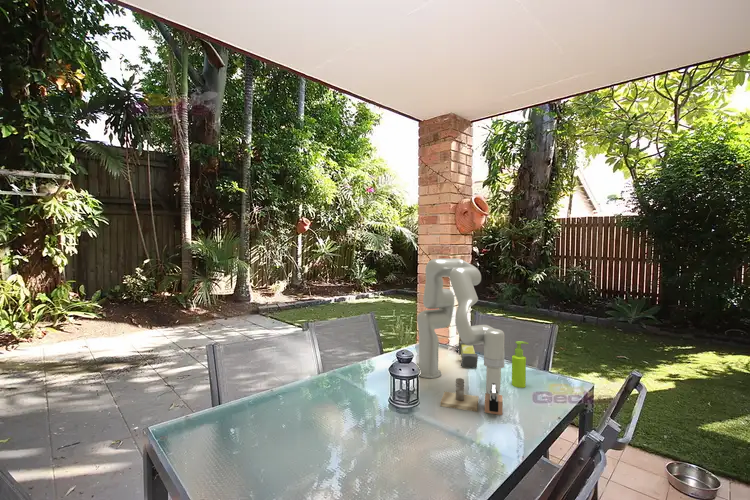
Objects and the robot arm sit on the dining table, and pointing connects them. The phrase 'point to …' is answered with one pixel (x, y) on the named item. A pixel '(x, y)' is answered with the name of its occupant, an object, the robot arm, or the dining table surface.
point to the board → (459, 404)
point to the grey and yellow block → (467, 354)
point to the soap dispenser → (519, 366)
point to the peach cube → (500, 404)
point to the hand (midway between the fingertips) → (493, 405)
